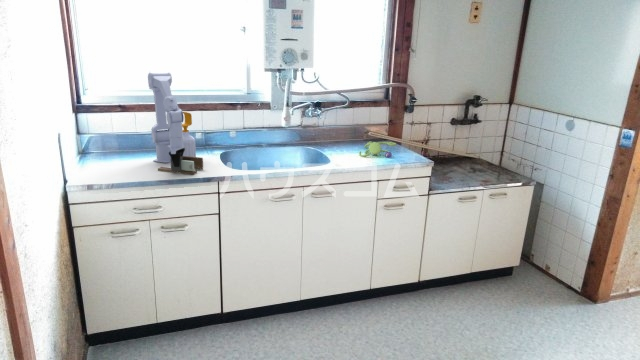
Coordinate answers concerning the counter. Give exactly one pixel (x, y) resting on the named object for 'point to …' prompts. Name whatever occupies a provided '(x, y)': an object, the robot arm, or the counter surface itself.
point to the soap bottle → (188, 137)
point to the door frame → (197, 165)
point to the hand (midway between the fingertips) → (177, 165)
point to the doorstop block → (176, 167)
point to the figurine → (377, 149)
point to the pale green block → (187, 165)
